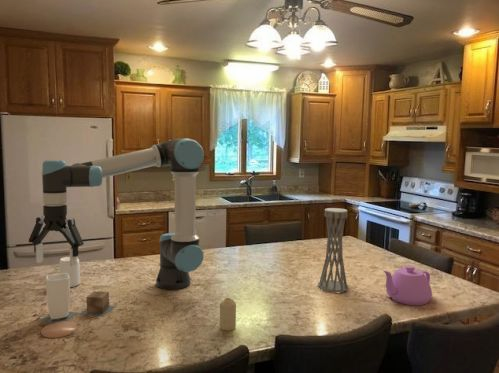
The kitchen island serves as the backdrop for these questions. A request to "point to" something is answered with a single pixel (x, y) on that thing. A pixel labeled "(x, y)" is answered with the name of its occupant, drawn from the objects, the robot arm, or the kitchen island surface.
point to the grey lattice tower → (334, 252)
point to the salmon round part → (59, 329)
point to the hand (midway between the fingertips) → (56, 263)
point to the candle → (227, 314)
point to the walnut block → (97, 302)
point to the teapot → (409, 286)
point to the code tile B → (98, 313)
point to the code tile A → (49, 320)
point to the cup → (58, 295)
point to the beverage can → (70, 270)
